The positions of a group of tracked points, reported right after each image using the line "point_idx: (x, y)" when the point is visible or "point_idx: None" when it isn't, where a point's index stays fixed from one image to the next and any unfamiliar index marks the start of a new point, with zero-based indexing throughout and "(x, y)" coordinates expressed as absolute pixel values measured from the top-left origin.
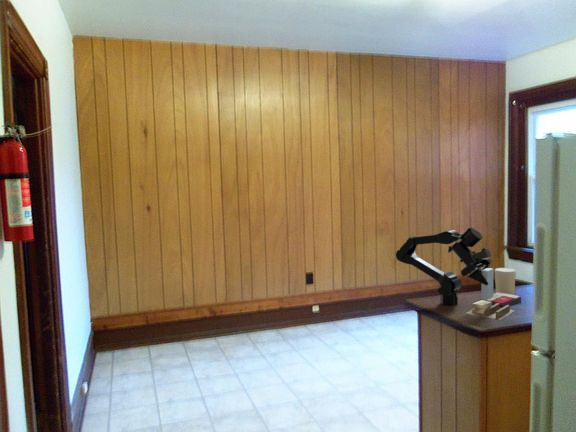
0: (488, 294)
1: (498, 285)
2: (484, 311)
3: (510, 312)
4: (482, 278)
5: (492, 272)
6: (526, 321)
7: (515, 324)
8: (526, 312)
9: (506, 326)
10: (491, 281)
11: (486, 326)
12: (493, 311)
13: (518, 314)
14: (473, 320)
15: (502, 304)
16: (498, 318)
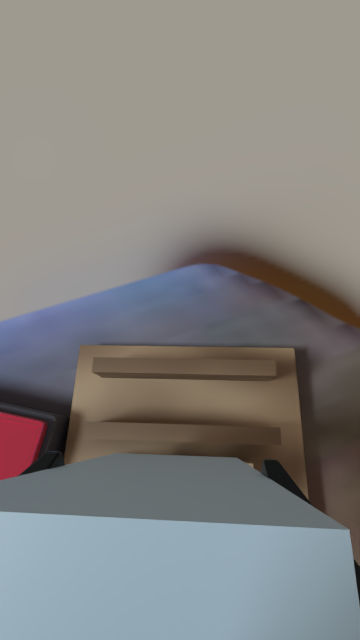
0: (214, 460)
1: None
2: (246, 463)
3: (130, 351)
4: (356, 578)
5: (25, 491)
6: (185, 270)
7: (259, 291)
8: (44, 312)
9: (317, 310)
10: (124, 469)
11: None
12: (189, 424)
13: (97, 330)
14: (354, 486)
15: (47, 420)
16: (276, 362)
